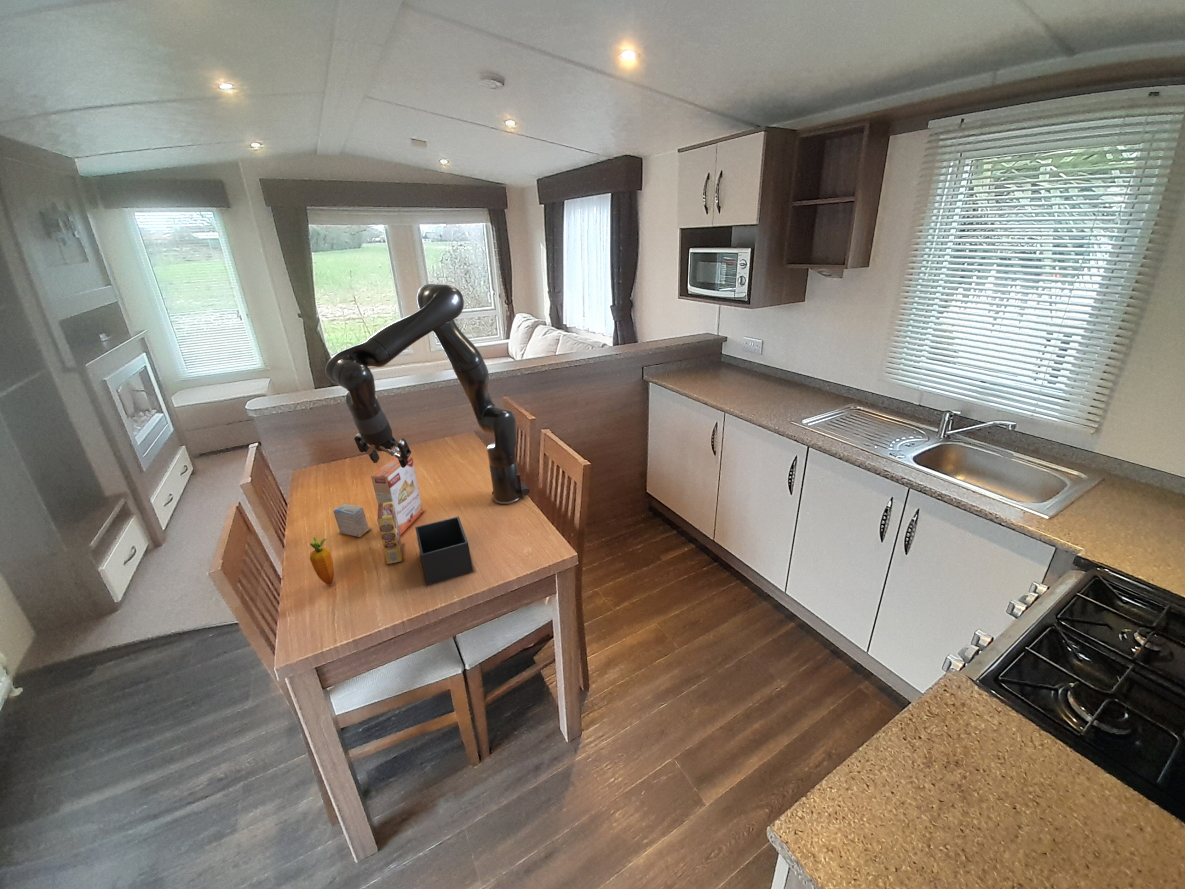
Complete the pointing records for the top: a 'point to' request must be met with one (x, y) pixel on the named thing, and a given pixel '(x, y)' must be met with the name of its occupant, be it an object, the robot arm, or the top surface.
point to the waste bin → (444, 550)
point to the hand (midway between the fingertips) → (390, 463)
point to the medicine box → (351, 520)
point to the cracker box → (399, 491)
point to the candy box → (389, 532)
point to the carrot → (322, 561)
